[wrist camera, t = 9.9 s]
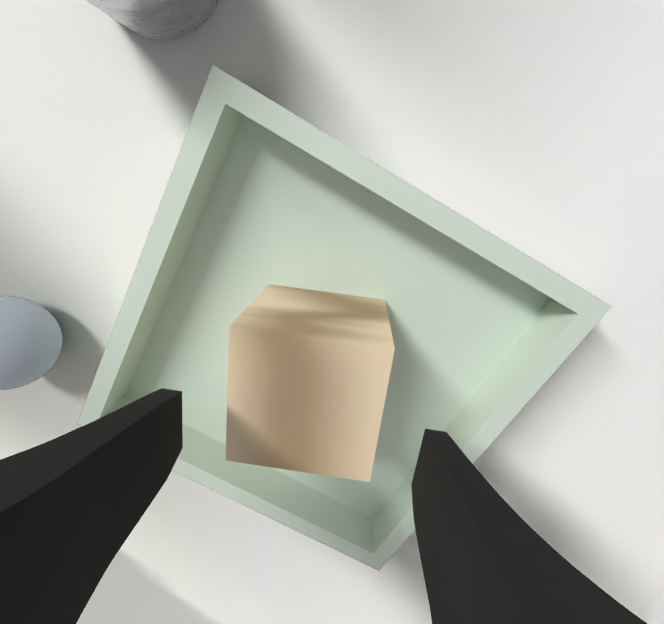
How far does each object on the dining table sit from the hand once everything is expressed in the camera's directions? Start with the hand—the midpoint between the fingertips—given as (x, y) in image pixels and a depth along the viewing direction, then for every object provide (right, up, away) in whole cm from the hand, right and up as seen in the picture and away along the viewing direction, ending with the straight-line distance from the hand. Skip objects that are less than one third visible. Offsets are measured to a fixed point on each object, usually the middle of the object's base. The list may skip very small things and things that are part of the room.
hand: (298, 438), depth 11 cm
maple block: (0, +2, +6) cm, 6 cm away
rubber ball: (-13, +3, +7) cm, 15 cm away
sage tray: (0, +2, +6) cm, 7 cm away
